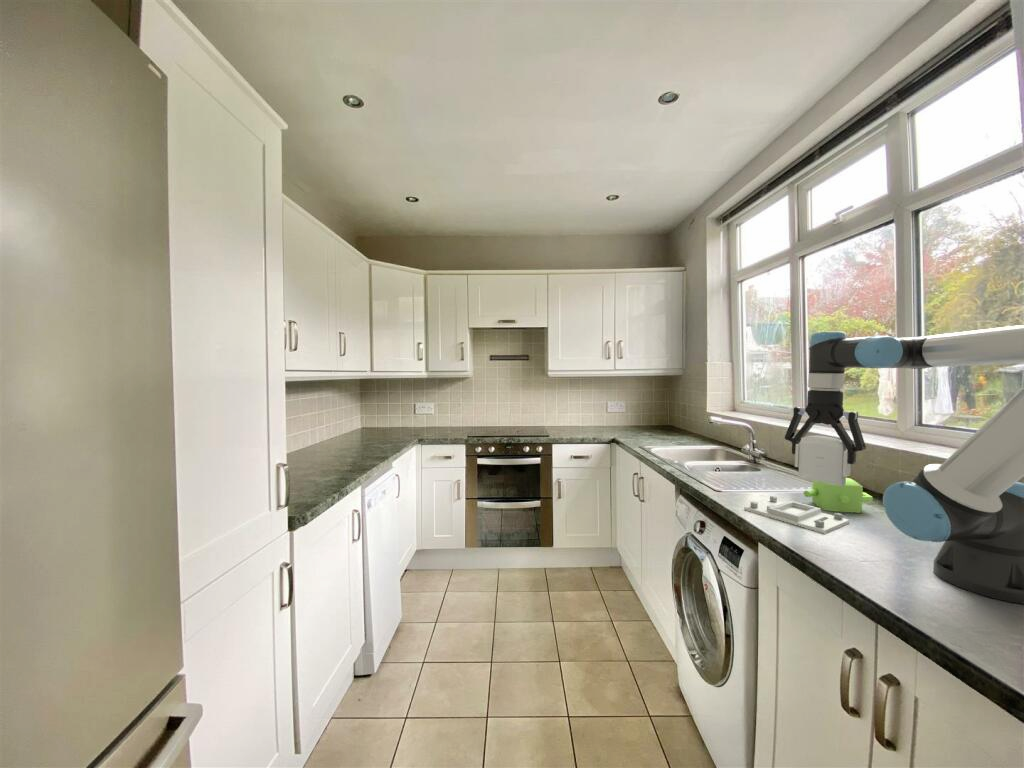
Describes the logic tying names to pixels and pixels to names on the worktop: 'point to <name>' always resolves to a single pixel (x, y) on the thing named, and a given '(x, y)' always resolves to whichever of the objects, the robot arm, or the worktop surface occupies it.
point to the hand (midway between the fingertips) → (821, 470)
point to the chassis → (798, 514)
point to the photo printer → (822, 459)
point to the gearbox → (839, 496)
